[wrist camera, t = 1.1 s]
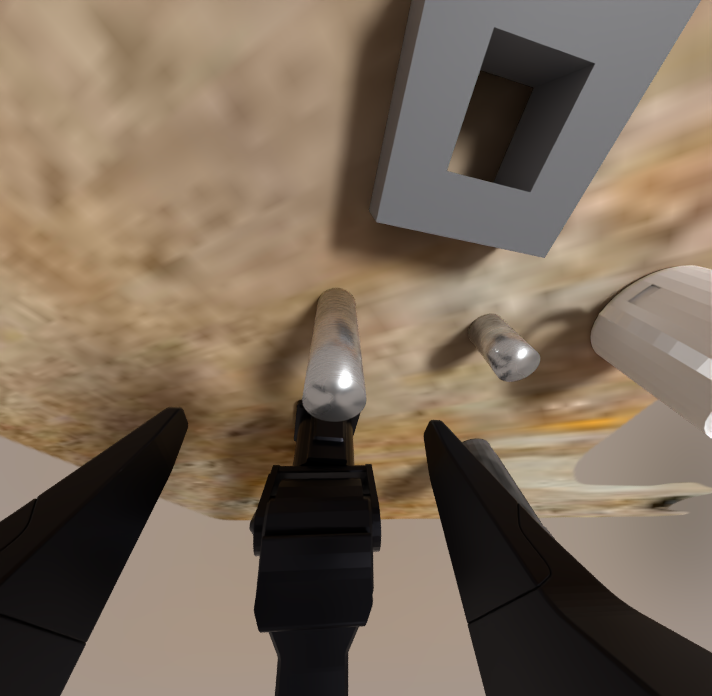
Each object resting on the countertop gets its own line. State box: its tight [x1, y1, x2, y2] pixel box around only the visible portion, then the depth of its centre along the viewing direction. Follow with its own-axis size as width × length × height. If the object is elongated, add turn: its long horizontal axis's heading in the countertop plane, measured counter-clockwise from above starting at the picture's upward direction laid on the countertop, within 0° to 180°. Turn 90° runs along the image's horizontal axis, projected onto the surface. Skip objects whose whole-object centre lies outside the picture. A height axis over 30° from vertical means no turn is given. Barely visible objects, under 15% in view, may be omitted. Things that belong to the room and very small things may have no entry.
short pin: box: [468, 314, 540, 382], centre depth 20 cm, size 3×3×5 cm
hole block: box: [369, 0, 701, 258], centre depth 13 cm, size 10×10×4 cm
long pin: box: [302, 288, 366, 422], centre depth 16 cm, size 3×3×10 cm
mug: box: [590, 265, 712, 438], centre depth 18 cm, size 12×9×9 cm
